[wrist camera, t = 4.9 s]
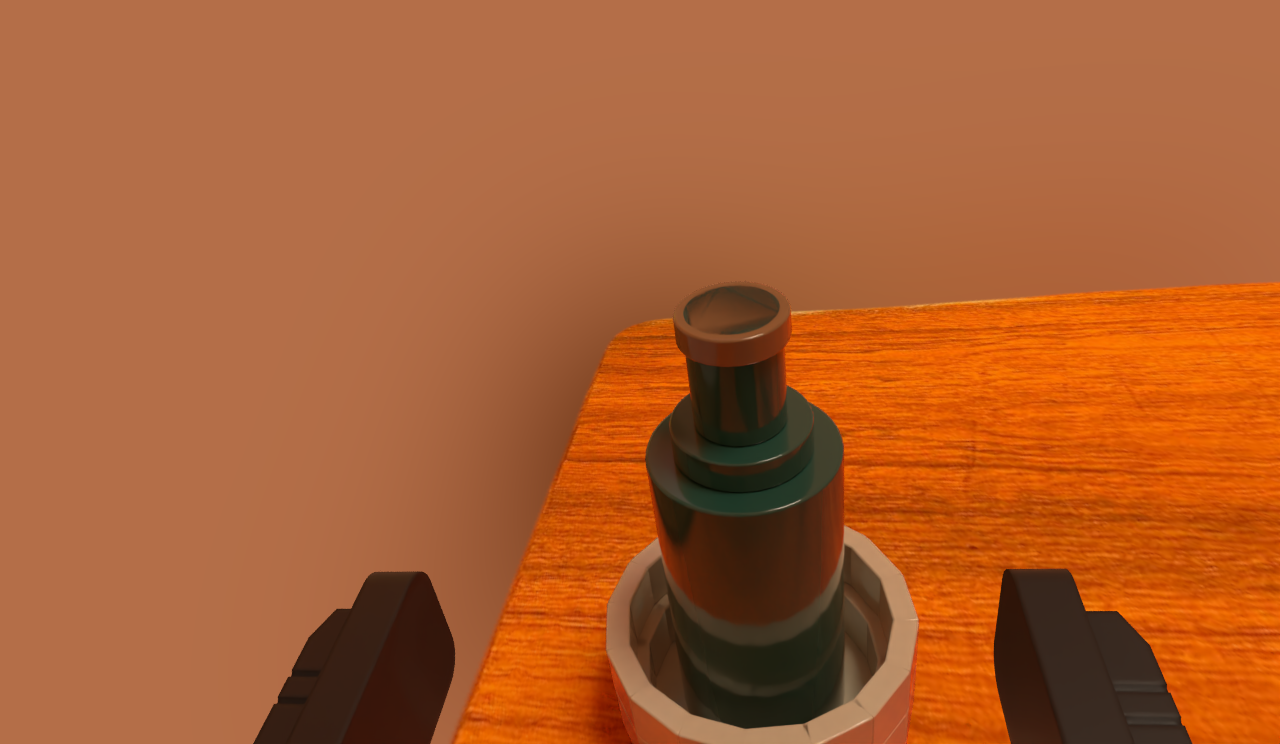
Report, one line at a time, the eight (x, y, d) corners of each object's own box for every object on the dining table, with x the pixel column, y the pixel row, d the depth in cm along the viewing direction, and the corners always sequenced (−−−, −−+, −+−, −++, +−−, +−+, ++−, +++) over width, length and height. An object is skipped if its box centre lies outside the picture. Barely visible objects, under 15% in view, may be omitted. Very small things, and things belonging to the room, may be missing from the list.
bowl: (700, 894, 26) (685, 812, 24) (586, 650, 34) (565, 569, 31) (975, 749, 29) (987, 661, 26) (809, 553, 37) (806, 471, 34)
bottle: (730, 789, 28) (679, 399, 20) (659, 660, 33) (591, 297, 24) (877, 715, 30) (890, 322, 21) (790, 602, 34) (771, 239, 25)
